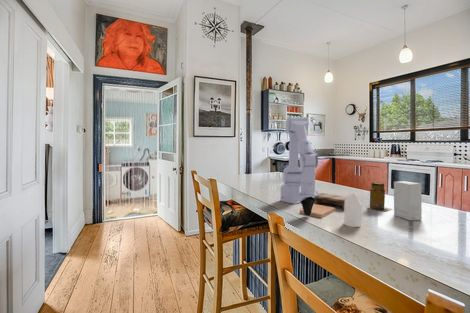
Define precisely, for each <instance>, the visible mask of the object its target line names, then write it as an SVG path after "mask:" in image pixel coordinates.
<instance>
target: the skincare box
mask: <svg viewBox="0 0 470 313" xmlns="http://www.w3.org/2000/svg"><path fill="white" fill-rule="evenodd" d="M422 208H423V207H422V183H419V182H415V181H414V182H412V181H407V180H403V181H401V180H400V181H398V180H397V181H393V215H394V216H395V217H398V218H402V219H405V220H408V221H421V220H422V219H423V217H422V214H423V213H422V210H423V209H422Z"/></svg>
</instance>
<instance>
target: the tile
mask: <svg viewBox="0 0 470 313" xmlns="http://www.w3.org/2000/svg"><path fill="white" fill-rule="evenodd" d="M334 212H336V207H333V206H329V205H328V206H327V205H321V204H313V207H312V211H311V214H310V215H309V216H311V217H316V218H320V219H323V218H325V217H327V216H329V215H330V214H333V213H334ZM299 214H302V215H304V211H303V208H302V209H299Z"/></svg>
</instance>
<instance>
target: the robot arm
mask: <svg viewBox="0 0 470 313" xmlns="http://www.w3.org/2000/svg"><path fill="white" fill-rule="evenodd" d="M308 129H309V118H308V117H307V116H305V117H301V116H300V117H294V116H293V117H290V116H288V117H287V118H286V122H285V133H286V134H287V135H288V136H289V141H288V145H289V148H288V149H289V150H288V166H286V167H285V168H284V169H283V171H282V172H283V173H282V183H283V184H282V185H281V187H280V199H279V201H280V202H284V203H288V204H293V205H296V204H299V203H300V204H301V206H302V209H303V211H304V214H303V215H305V216H310V214H311V211H312V207H313V204H314V202H315V201H316V198H314V196H318V194H319V191H318V190H316V168H317V167H318V165H319V158H318V155H317V153H316V152H315V151H314V149H313V146H312V142H311V141H310V140H308V136H307V135H308V134H307V130H308Z"/></svg>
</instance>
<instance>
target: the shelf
mask: <svg viewBox="0 0 470 313" xmlns="http://www.w3.org/2000/svg"><path fill="white" fill-rule="evenodd" d="M313 197H314V198H316V201H315V202H314V204H317V205H320V203H321V204H322V203H326V204H332V205H335V206H341V207H342V210H343V211H344V203H345V200H346V199H347V198H348V197H349V196H343V195H336V194H330V193H324V192H320V193H318V196H313Z"/></svg>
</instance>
